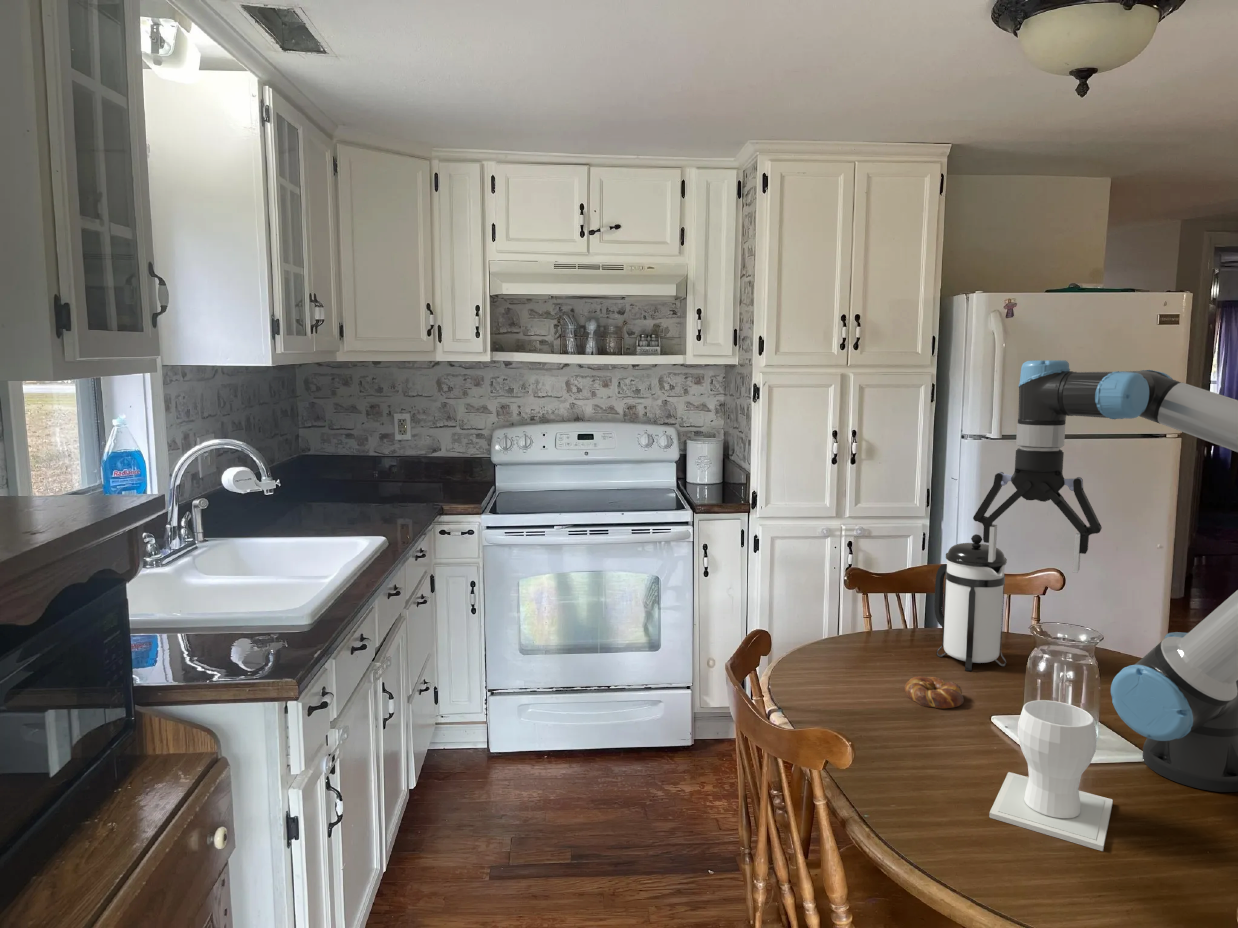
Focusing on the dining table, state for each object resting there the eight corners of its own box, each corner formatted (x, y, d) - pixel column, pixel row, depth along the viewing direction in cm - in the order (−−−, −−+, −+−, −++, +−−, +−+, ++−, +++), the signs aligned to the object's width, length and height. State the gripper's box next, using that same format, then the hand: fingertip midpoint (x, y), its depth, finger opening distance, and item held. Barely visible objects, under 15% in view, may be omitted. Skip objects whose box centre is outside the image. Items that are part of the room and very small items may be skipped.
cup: (1023, 780, 132) (1028, 692, 130) (1097, 802, 125) (1103, 710, 124) (1006, 807, 124) (1011, 715, 122) (1084, 832, 117) (1091, 735, 115)
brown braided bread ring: (891, 697, 168) (892, 680, 168) (922, 684, 175) (922, 667, 174) (944, 716, 159) (945, 698, 158) (974, 701, 165) (975, 684, 165)
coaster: (1112, 804, 126) (1112, 798, 126) (1102, 851, 114) (1103, 845, 114) (1008, 776, 135) (1008, 771, 135) (989, 817, 123) (989, 811, 123)
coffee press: (1010, 655, 190) (1017, 531, 187) (1001, 677, 177) (1008, 544, 173) (933, 642, 199) (938, 523, 196) (919, 662, 186) (924, 535, 182)
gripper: (1124, 450, 138) (1115, 571, 140) (969, 442, 152) (963, 552, 155) (1121, 454, 132) (1112, 580, 134) (959, 446, 146) (954, 560, 149)
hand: (1032, 565), depth 144 cm, fingers open, 13 cm apart
